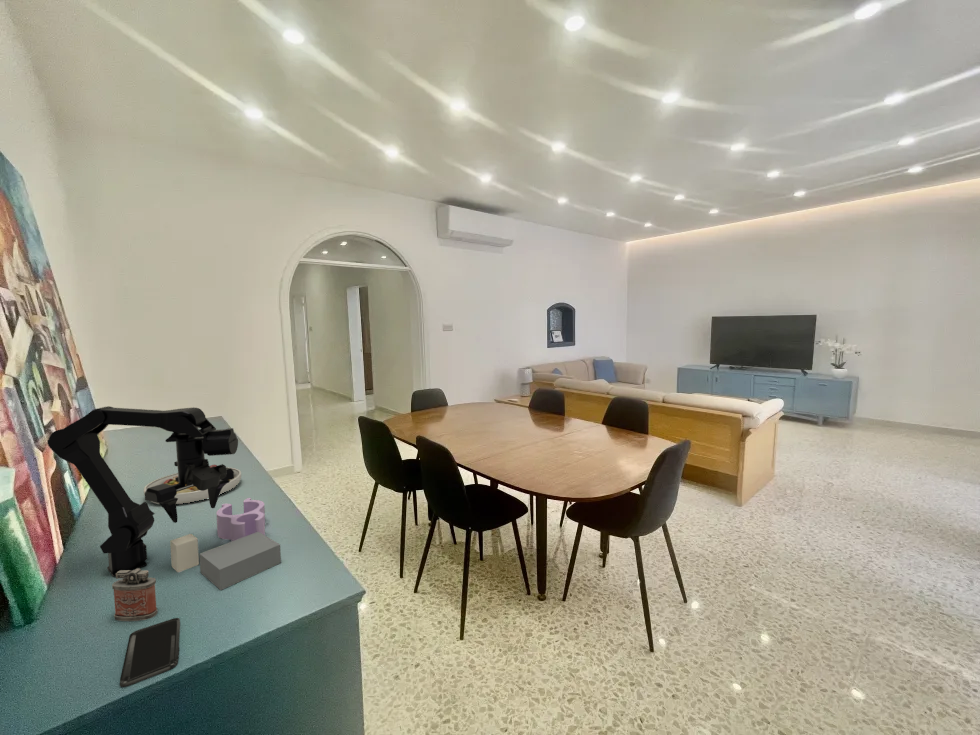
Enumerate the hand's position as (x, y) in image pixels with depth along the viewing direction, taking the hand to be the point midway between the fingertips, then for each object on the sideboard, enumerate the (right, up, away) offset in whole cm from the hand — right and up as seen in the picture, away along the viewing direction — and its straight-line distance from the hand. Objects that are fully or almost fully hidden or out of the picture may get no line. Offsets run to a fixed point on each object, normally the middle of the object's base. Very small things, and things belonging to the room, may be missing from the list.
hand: (194, 514), depth 105 cm
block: (-1, -13, -2) cm, 13 cm away
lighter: (+3, -14, -20) cm, 25 cm away
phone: (+14, -15, -30) cm, 36 cm away
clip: (+3, -12, +16) cm, 20 cm away
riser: (+14, -13, -3) cm, 19 cm away
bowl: (-36, -9, +48) cm, 61 cm away
